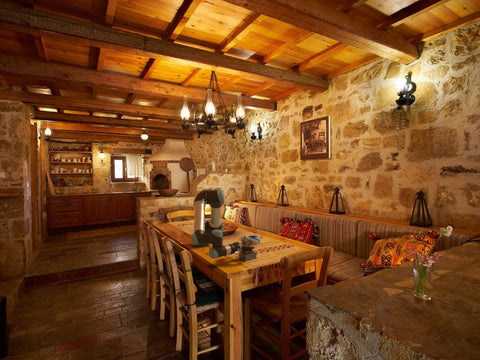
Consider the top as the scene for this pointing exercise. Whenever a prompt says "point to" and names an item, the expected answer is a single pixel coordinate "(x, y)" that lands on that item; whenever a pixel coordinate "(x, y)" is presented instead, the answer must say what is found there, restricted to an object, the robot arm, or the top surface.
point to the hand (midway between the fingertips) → (250, 244)
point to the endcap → (247, 256)
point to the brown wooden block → (247, 245)
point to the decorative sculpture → (255, 238)
